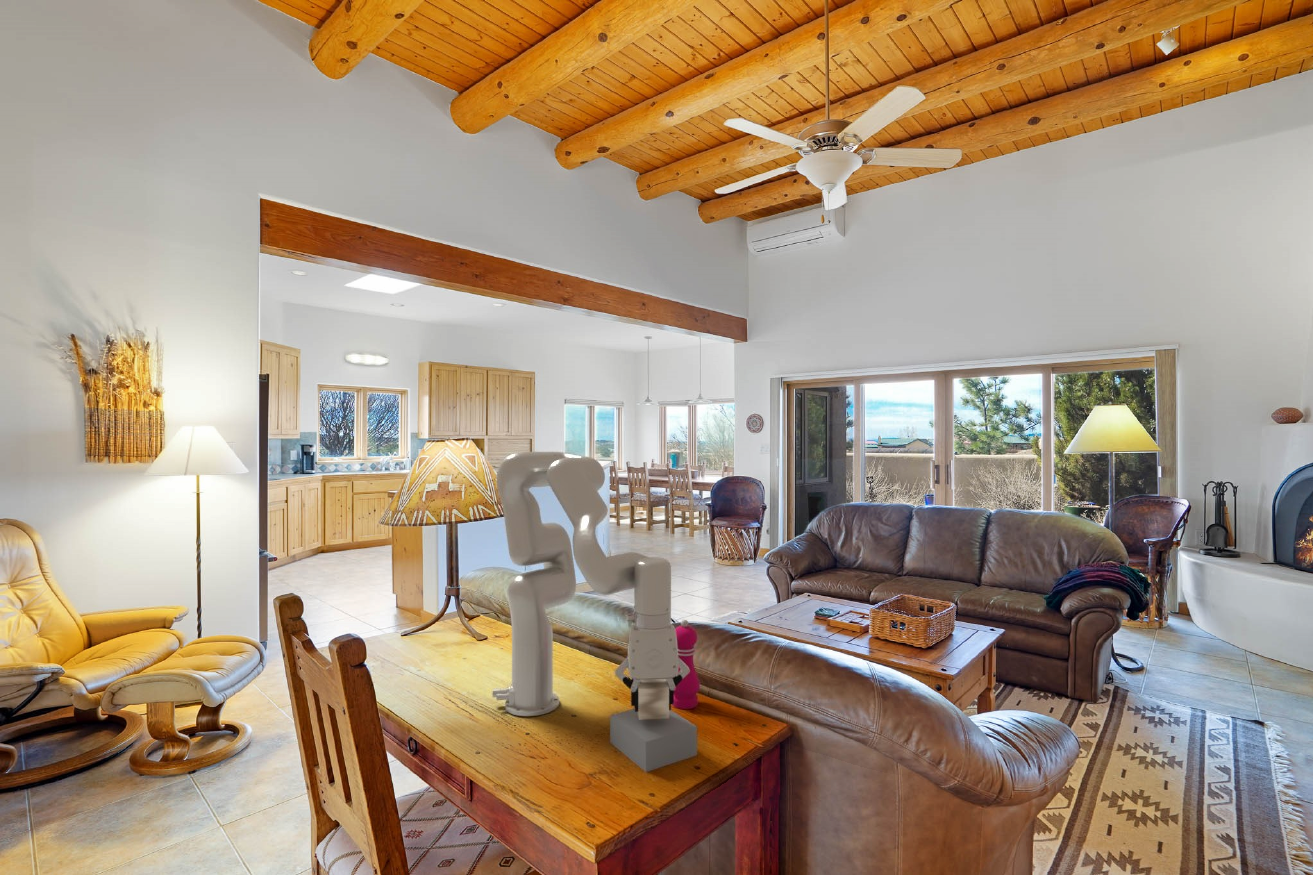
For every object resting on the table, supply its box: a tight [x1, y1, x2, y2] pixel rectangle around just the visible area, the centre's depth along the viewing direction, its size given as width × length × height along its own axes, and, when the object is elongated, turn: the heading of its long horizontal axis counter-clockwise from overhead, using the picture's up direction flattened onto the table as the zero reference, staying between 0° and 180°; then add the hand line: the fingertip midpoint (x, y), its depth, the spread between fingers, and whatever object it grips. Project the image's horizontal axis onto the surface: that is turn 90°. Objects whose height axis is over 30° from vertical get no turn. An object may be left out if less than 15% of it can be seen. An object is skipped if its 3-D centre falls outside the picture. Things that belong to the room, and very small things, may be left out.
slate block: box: [609, 708, 698, 773], centre depth 128 cm, size 12×14×6 cm
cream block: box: [637, 679, 669, 720], centre depth 128 cm, size 6×6×6 cm
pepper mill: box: [671, 619, 701, 710], centre depth 150 cm, size 7×7×20 cm
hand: (652, 707), depth 128 cm, fingers closed on cream block, 5 cm apart
